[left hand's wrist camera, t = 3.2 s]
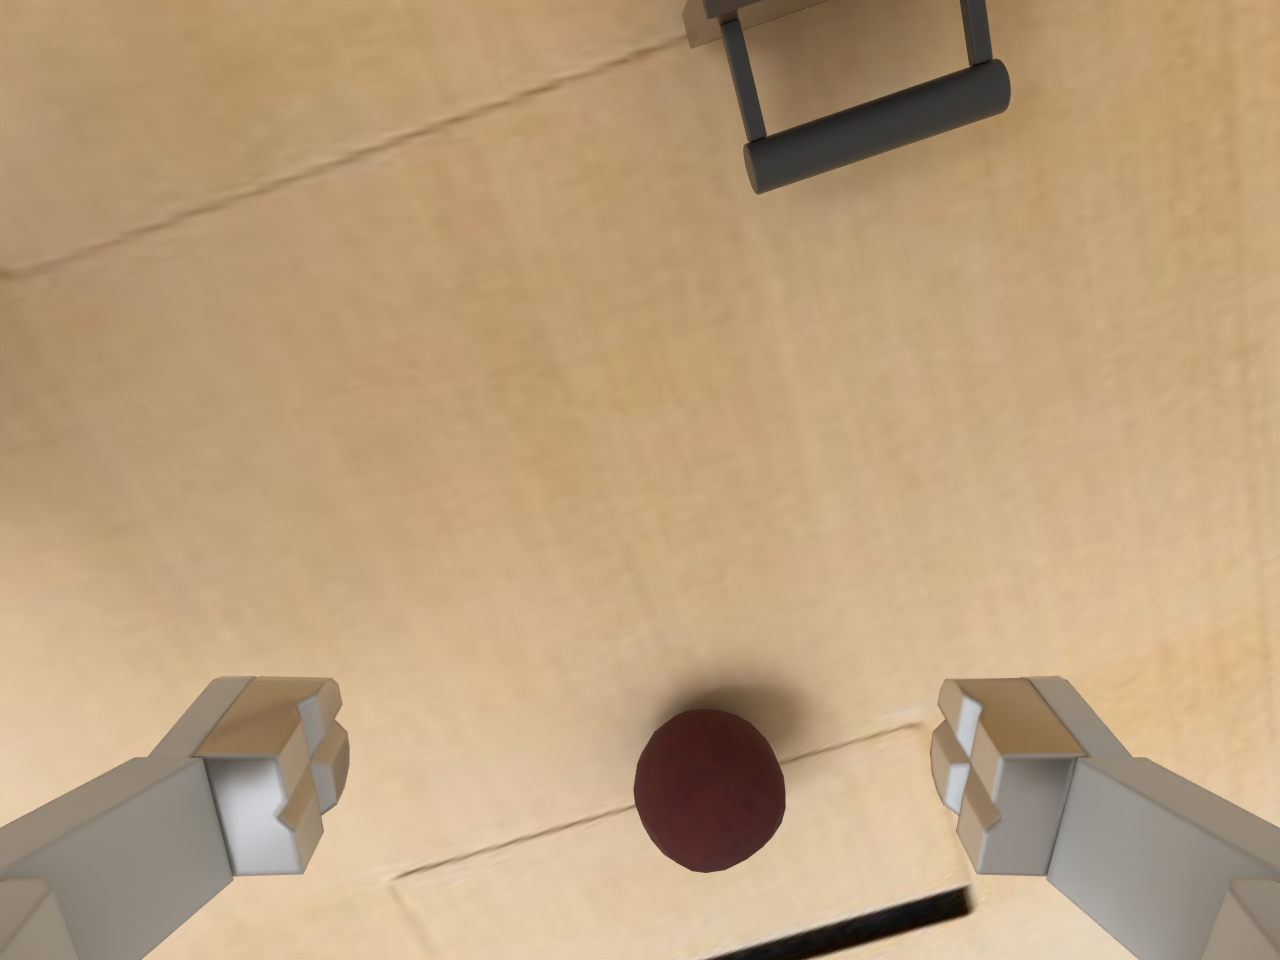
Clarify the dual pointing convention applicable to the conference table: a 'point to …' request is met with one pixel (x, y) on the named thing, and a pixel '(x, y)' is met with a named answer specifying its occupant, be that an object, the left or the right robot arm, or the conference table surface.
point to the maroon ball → (709, 790)
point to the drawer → (737, 3)
